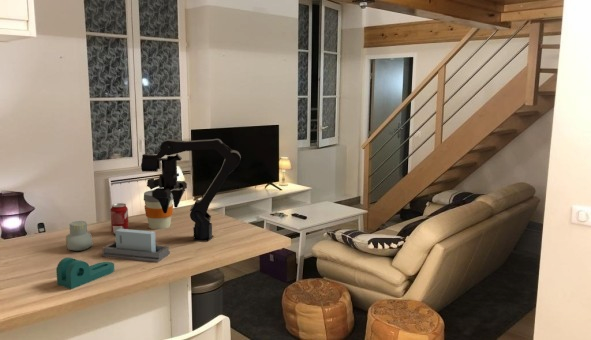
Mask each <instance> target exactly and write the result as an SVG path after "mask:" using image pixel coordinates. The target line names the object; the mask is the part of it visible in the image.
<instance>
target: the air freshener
mask: <svg viewBox="0 0 591 340" xmlns="http://www.w3.org/2000/svg"><path fill="white" fill-rule="evenodd" d="M87 225H88V224H87V222H86V221H85V220H77V221H76V220H75V221H72V222H70V223H69V225H68V226H69V234H67V235H66V236H65V240H66V247H67V250H69V251H73V252H74V251H75V252H76V251H77V252H80V251H84V250H87V249H90V247H92V246H93V237H92V234H91V233H90V232H88V226H87Z"/></svg>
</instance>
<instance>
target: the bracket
mask: <svg viewBox="0 0 591 340" xmlns="http://www.w3.org/2000/svg"><path fill="white" fill-rule="evenodd" d="M55 271H56V273H55V274H56V282H57V284H56V285H57V286H61V287H63V288H66V289H70V290H73V289H76V288H79V287H80V286H84V285H85V284H89V283H91V282H93V281H95V280H98V279H101V278H103V277H106V276H108V275H111V274H112V273H113V274H114V272H115V263H114V262H112V261H111V262H110V261H101V262H97V263H95V264H92V265H89V263H88V262H87V261H83V260H80V259H76V258H73V257H64V258H63V259H61V260H60V261H59V262H58V263H57V266H56V270H55Z"/></svg>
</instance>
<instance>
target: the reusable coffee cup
mask: <svg viewBox="0 0 591 340" xmlns="http://www.w3.org/2000/svg"><path fill="white" fill-rule="evenodd" d="M153 190H154V189H150V190H147V191H145V192H143V201H144V206H143V207H144V212H145V217H146V218H147V223H148V224H147V225H148V228H149V229H152V230H163V229H164V230H165V229H168V228H170V227H171V221H172V216H173V213H174V211H173V210H174V202H173V195H172V193H171V195H170V197H171V199H170V203H169V207H168V210H167V213H164V212H163V210H162V207H161V204H160V202H159V201H158V200H157V199H155V198H154V197H152V191H153Z"/></svg>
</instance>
